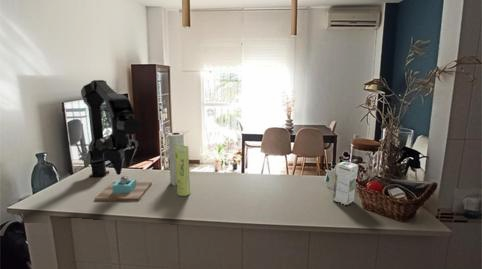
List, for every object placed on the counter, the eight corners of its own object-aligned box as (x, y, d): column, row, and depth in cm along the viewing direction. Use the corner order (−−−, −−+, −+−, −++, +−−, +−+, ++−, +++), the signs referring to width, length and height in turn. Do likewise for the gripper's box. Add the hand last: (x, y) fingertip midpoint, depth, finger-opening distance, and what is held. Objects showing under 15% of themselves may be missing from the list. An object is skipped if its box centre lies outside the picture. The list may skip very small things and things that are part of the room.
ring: (119, 186, 118) (119, 179, 117) (136, 186, 118) (135, 179, 117) (112, 193, 112) (112, 185, 111) (130, 193, 112) (129, 185, 111)
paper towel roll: (178, 178, 129) (176, 131, 125) (188, 182, 126) (186, 133, 121) (165, 183, 124) (162, 134, 119) (175, 187, 120) (173, 136, 116)
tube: (174, 196, 111) (172, 146, 107) (176, 191, 116) (174, 143, 112) (189, 196, 112) (188, 146, 107) (191, 191, 116) (189, 143, 112)
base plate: (113, 184, 123) (113, 181, 123) (151, 184, 123) (151, 182, 123) (94, 200, 107) (94, 198, 107) (138, 201, 107) (138, 198, 107)
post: (123, 188, 116) (122, 176, 115) (129, 188, 116) (128, 176, 115) (120, 190, 114) (119, 178, 113) (126, 190, 114) (125, 178, 113)
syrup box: (339, 197, 112) (343, 160, 109) (354, 202, 108) (358, 164, 105) (332, 201, 108) (335, 163, 105) (347, 206, 104) (351, 167, 101)
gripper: (109, 125, 119) (113, 162, 122) (85, 135, 101) (90, 178, 104) (137, 125, 119) (139, 163, 122) (118, 135, 101) (122, 179, 104)
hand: (123, 170), depth 113 cm, fingers open, 9 cm apart
